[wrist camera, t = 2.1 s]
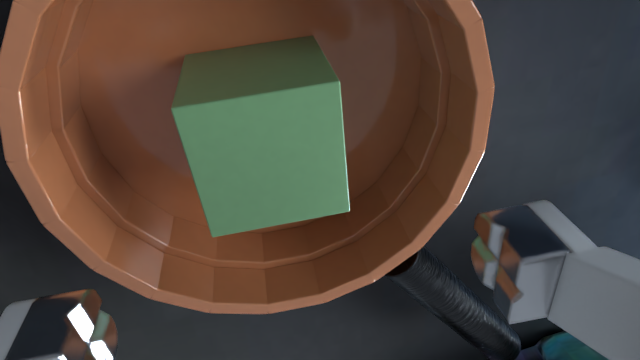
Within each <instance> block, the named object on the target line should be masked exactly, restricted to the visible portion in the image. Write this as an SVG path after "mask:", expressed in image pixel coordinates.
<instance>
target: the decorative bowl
mask: <svg viewBox="0 0 640 360" xmlns="http://www.w3.org/2000/svg"><path fill="white" fill-rule="evenodd" d="M515 360H609V359H607V358H606V357H604V356H603V355H601V354H600V353H598V352H597V351H595V350H594V349H592V348H591V347H589V346H587V345H586V344H584V343H583V342H581V341H580V340H578V339H577V338H575V337H574V336H572V335H571V334H569V333H568V332H566V331H562V332H559V333H556V334H553V335H549V336H546V337H543V338H542V339H541V340H540V341H539V342H538V343H537V344H536V345H535V346H533V347H530V348H526V349H523V350H520V353H519V355H518V357H517V358H516V359H515Z"/></svg>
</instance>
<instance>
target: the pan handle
mask: <svg viewBox="0 0 640 360" xmlns="http://www.w3.org/2000/svg"><path fill="white" fill-rule="evenodd" d="M385 276H386V277H387V278H389V279H390V280H391V281H392V282H394V283H395V284H396V285H397V286H399V287H400V288H401V289H402V290H404V291H405V292H406V293H407V294H409V295H410V296H411V297H412V298H414V299H415V300H416V301H417V302H419V303H420V304H421V305H422V306H423V307H425V308H426V309H427V310H428V311H430V312H431V313H432V314H433V315H435V316H436V317H437V318H438V319H440V320H441V321H442V322H443V323H445V324H446V325H447V326H448V327H450V328H451V329H452V330H453V331H455V332H456V333H457V334H458V335H460V336H461V337H462V338H463V339H465V340H466V341H467V342H468V343H470V344H471V345H472V346H473V347H474V348H476V349H477V350H478V351H479V352H481V353H482V354H483V355H484V356H486V357H487V358H488V359H489V360H515V359H516V358H517V357H518V355H519V353H520V350H521V341H520V338H519V336H518V334H517V333H516V332H515V331H514V330H513V329H512V328H511V327H510V326H509V325H508V324H507V323H506V322H505V321H503V320H502V319H501V318H500V317H499V316H498V315H497V314H496V313H495V312H494V311H493V310H492V309H491V308H490V307H489V306H488V305H486V304H485V303H484V302H483V301H482V300H481V299H480V298H479V297H478V296H477V295H476V294H475V293H474V292H473V291H472V290H471V289H469V288H468V287H467V286H466V285H465V284H464V283H463V282H462V281H461V280H460V279H459V278H458V277H457V276H456V275H455V274H454V273H452V272H451V271H450V270H449V269H448V268H447V267H446V266H445V265H444V264H443V263H442V262H441V261H440V260H439V259H438V258H437V257H435V256H434V255H433V254H432V253H431V252H430V251H429V250H428V249H427V248H426V247H425V246H423V247H422V248H421V249H420V250H419V251H418V252H416V253H415V254H413V255H412V256H411V257H409V258H408V259H406V260H405V261H404V262H402V263H401V264H399V265H398V266H397V267H395V268H394V269H392V270H391V271H390V272H388V273H387V274H385Z"/></svg>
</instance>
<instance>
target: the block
mask: <svg viewBox="0 0 640 360" xmlns="http://www.w3.org/2000/svg"><path fill="white" fill-rule="evenodd" d="M171 112H172V115H173V118H174V121H175V124H176V127H177V130H178V134H179V137H180V140H181V143H182V146H183V149H184V152H185V155H186V158H187V162H188V165H189V168H190V171H191V174H192V177H193V180H194V183H195V186H196V190H197V193H198V196H199V199H200V202H201V205H202V208H203V211H204V214H205V217H206V221H207V224H208V227H209V230H210V233H211V236H212V237H218V236H223V235H228V234H234V233H239V232H244V231H250V230H255V229H260V228H265V227H271V226H276V225H281V224H287V223H292V222H297V221H302V220H308V219H313V218H318V217H323V216H329V215H334V214H339V213H345V212H349V211H350V202H349V189H348V176H347V163H346V150H345V138H344V125H343V112H342V99H341V86H340V81H339V79H338V77H337V76H336V74H335V72H334V70H333V69H332V67H331V65H330V64H329V62H328V60H327V58H326V57H325V55H324V53H323V51H322V50H321V48H320V46H319V44H318V43H317V41H316V39H315V38H314V36H305V37H299V38H292V39H286V40H279V41H273V42H266V43H260V44H253V45H247V46H240V47H233V48H227V49H220V50H214V51H207V52H201V53H194V54H188V55H185V57H184V61H183V65H182V69H181V72H180V76H179V80H178V84H177V87H176V91H175V95H174V99H173V103H172V106H171Z"/></svg>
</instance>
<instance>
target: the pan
mask: <svg viewBox="0 0 640 360" xmlns="http://www.w3.org/2000/svg"><path fill="white" fill-rule="evenodd" d="M305 36H314V38H315V39H316V41H317V43H318V44H319V46H320V48H321V50H322V51H323V53H324V55H325V57H326V58H327V60H328V62H329V64H330V65H331V67H332V69H333V70H334V72H335V74H336V76H337V77H338V79H339V81H340V86H341V99H342V112H343V125H344V138H345V150H346V163H347V176H348V189H349V202H350V211H349V212H345V213H339V214H334V215H329V216H323V217H318V218H313V219H308V220H302V221H297V222H292V223H287V224H281V225H276V226H271V227H265V228H260V229H255V230H250V231H244V232H239V233H234V234H228V235H223V236H218V237H212V236H211V233H210V230H209V227H208V224H207V221H206V217H205V214H204V211H203V208H202V205H201V202H200V199H199V196H198V193H197V190H196V186H195V183H194V180H193V177H192V174H191V171H190V168H189V165H188V162H187V158H186V155H185V152H184V149H183V146H182V143H181V140H180V137H179V134H178V130H177V127H176V124H175V121H174V118H173V115H172V112H171V106H172V103H173V99H174V95H175V91H176V87H177V84H178V80H179V76H180V72H181V69H182V65H183V61H184V57H185V55H188V54H194V53H201V52H207V51H214V50H220V49H227V48H233V47H240V46H247V45H253V44H260V43H266V42H273V41H279V40H286V39H292V38H299V37H305ZM494 86H495V84H494V79H493V73H492V68H491V62H490V57H489V51H488V46H487V41H486V35H485V30H484V24H483V19H482V18H481V14H480V12H479V11H478V9H477V7H476V6H475V4H474V2H473V1H472V0H13V1H12V5H11V9H10V13H9V17H8V21H7V25H6V29H5V33H4V37H3V41H2V45H1V50H0V133H1V139H2V145H3V151H4V157H5V160H6V163H7V165H8V167H9V169H10V171H11V172H12V174H13V176H14V178H15V179H16V181H17V183H18V184H19V186H20V188H21V190H22V191H23V193H24V195H25V197H26V198H27V200H28V202H29V204H30V205H31V207H32V209H33V210H34V212H35V214H36V216H37V217H38V219H39V221H40V223H42V224H43V226H44V227H45V228H46V229H47V230H48V231H49V232H50V233H52V234H53V235H54V236H55V237H56V238H57V239H58V240H59V241H60V242H61V243H63V244H64V245H65V246H66V247H67V248H68V249H69V250H70V251H71V252H72V253H74V254H75V255H76V256H77V257H78V258H79V259H80V260H81V261H82V262H84V263H85V264H86V265H87V266H88V267H89V268H90V269H93V271H95V272H97V273H99V274H100V275H102V276H104V277H106V278H108V279H110V280H112V281H114V282H116V283H118V284H120V285H122V286H124V287H126V288H128V289H130V290H132V291H134V292H136V293H138V294H140V295H142V296H144V297H146V298H150V299H151V300H155V301H159V302H163V303H167V304H171V305H176V306H180V307H184V308H188V309H192V310H197V311H201V312H205V313H217V314H267V313H268V314H272V313H277V312H282V311H287V310H292V309H297V308H303V307H308V306H313V305H318V304H322V303H326V302H329V301H331V300H333V299H336V298H338V297H340V296H343V295H345V294H347V293H350V292H352V291H354V290H357V289H359V288H362V287H364V286H366V285H369V284H371V283H373V282H375V281H377V280H378V279H380V278H381V277H383V276H384V275H385V274H387V273H388V272H390V271H391V270H392V269H394V268H395V267H397V266H398V265H399V264H401V263H402V262H404V261H405V260H406V259H408V258H409V257H411V256H412V255H413V254H415V253H416V252H418V251H419V250H420V249H421V248H422V247H423V246H424V245H425V244H426V243H427V241H428V240H429V239H430V238H431V237H432V236H433V235H434V233H435V232H436V231H437V230H438V229H439V228H440V226H441V225H442V224H443V223H444V222H445V221H446V219H447V218H448V217H449V216H450V215H451V214H452V213H453V211H454V210H455V209H456V208H457V207H458V204H460V203H461V200H462V198H463V196H464V194H465V192H466V190H467V188H468V186H469V184H470V182H471V180H472V178H473V176H474V173H475V171H476V169H477V167H478V165H479V163H480V161H481V159H482V157H483V155H484V153H485V149H486V142H487V136H488V129H489V123H490V116H491V110H492V103H493V96H494V90H495V89H494Z"/></svg>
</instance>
